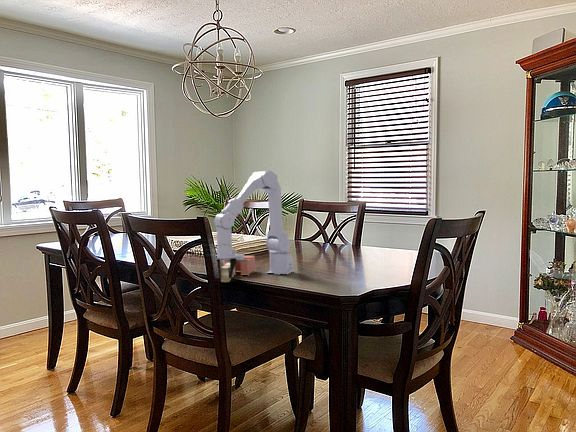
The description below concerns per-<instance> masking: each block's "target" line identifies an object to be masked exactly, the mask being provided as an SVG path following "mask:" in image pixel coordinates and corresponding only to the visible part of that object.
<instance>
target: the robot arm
mask: <svg viewBox="0 0 576 432" xmlns="http://www.w3.org/2000/svg"><path fill="white" fill-rule="evenodd" d="M241 189H242V190H241V191H240V192H239V194H238V196H237V197H235V198H231V199H229V200H228V201H227V202H228V204H226V205H225V207H224V208H223V209H221V212H220V213H218V214H216V215H215V217H214V220H213V225H214V226H215V228H216V245H217V246H216V247H217V248H216V249H217V251H216V252H217V254H215V255H216V256H217V261H218V268H219V274H220V279H219V280H221V272H220V268H221V261H222V260H230V279H231V278H232V273H233V269H234V267H235V264H236V260H238V259H241V260H244V256H245V255H244V254H243V253H240V254H239V253H237V254H232V247H233V244H232V243H233V240H232V239H233V238H232V227H234V225H235V219H236V218H237V217H238V216H239V214H240V213H241V212H242V210H244V208H245V207H244V203H245V202H246V201H247V199H249V197H250V196H251V195H252V194H253V193H254V192H255V191H256V190H258V189H262V190H264V191H265V192H266V193H267V196H268V197H267V198H268V216H269V231H268V232H267V234H266V236H267V237H266V240H265V246H266V248H267V249H268V252H269V271H267V272H266V274H267V273H274V274H273V275H280V274H287V275H289V274H292V273H293V272H294V257H293V254H292V253H291V252H288V251H289V249H290V247H291V242H290V240H289V238H288V237H289V236H288V233H287V232H286V231H285V230H284V221H283V220H284V219H283V205H282V188H281V185H280V183H279V180H278V175H277V174H276V173H275V172H274V171H272V170H263V171H260V170H259V171H258V170H257V171H253V173H252V174H251V176H250V177H249V178H248V180H247V183H245V185H244V187H243V188H241ZM221 258H227V259H221ZM291 272H292V273H291Z"/></svg>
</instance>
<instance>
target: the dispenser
mask: <svg viewBox="0 0 576 432" xmlns="http://www.w3.org/2000/svg"><path fill="white" fill-rule="evenodd" d="M243 256H244V260H241V259H238V260H236V264H235V272H236V271H237V270H238V271H241V272H240V275H241V274H249V273H251V272H252V271H254V270H255V271H256V255H243ZM226 263H230V260H225V264H226Z"/></svg>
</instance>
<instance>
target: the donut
mask: <svg viewBox="0 0 576 432" xmlns="http://www.w3.org/2000/svg"><path fill="white" fill-rule="evenodd" d="M232 254H238V252H237V250H236V249H235V247H233V246H232ZM220 259H227V258H220ZM221 262H222V264H223V266H224V265H225V260H221Z"/></svg>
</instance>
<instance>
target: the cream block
mask: <svg viewBox="0 0 576 432" xmlns="http://www.w3.org/2000/svg"><path fill="white" fill-rule="evenodd" d="M220 272H221V279H220V282H221V283H230V282H231V281H232V280H231V279H230V263H226V264H225V265H224V264H223V266H220ZM234 275H236V273H235V267H234V269H233V273H232V277H233V276H234ZM230 280H231V281H230Z"/></svg>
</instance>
